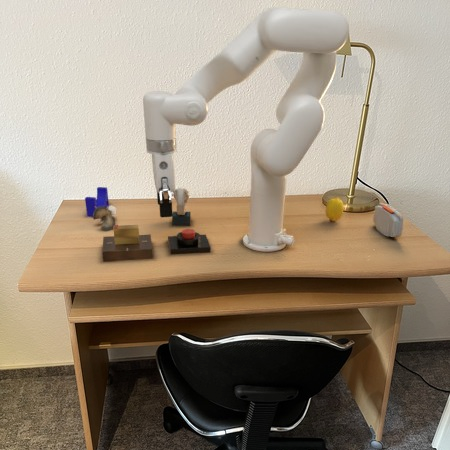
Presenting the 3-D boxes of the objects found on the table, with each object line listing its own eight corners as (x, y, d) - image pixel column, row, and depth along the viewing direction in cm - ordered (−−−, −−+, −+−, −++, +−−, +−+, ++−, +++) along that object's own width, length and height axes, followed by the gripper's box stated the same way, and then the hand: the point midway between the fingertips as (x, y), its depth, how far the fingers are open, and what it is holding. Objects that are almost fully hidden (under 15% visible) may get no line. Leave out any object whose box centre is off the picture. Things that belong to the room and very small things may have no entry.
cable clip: (100, 217, 158) (98, 199, 155) (87, 216, 158) (84, 198, 155) (113, 204, 168) (111, 187, 165) (100, 204, 168) (98, 186, 165)
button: (194, 234, 139) (194, 228, 138) (195, 239, 136) (195, 233, 135) (181, 234, 139) (181, 228, 138) (182, 239, 135) (182, 233, 135)
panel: (151, 243, 140) (150, 233, 139) (152, 259, 131) (152, 248, 130) (104, 246, 138) (103, 235, 137) (103, 262, 129) (101, 251, 128)
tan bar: (139, 240, 135) (138, 223, 132) (139, 243, 133) (138, 227, 130) (115, 241, 134) (113, 224, 131) (114, 244, 132) (113, 228, 129)
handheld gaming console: (400, 241, 145) (406, 216, 141) (391, 242, 145) (397, 216, 141) (378, 223, 158) (382, 199, 154) (369, 224, 157) (373, 200, 153)
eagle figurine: (88, 217, 154) (87, 222, 146) (99, 197, 153) (98, 201, 144) (110, 229, 157) (110, 235, 148) (121, 209, 155) (121, 214, 147)
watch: (190, 218, 158) (190, 185, 153) (190, 228, 151) (189, 193, 146) (173, 218, 158) (172, 185, 152) (171, 228, 151) (170, 193, 145)
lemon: (336, 217, 162) (339, 193, 158) (344, 223, 157) (348, 199, 153) (321, 219, 160) (324, 195, 156) (329, 225, 156) (332, 200, 152)
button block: (205, 239, 144) (205, 228, 142) (210, 252, 136) (210, 240, 134) (168, 241, 142) (167, 230, 140) (170, 254, 134) (170, 243, 132)
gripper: (179, 153, 116) (182, 221, 125) (173, 137, 131) (175, 199, 140) (147, 154, 115) (152, 223, 124) (144, 138, 130) (149, 200, 138)
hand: (164, 210), depth 132 cm, fingers open, 9 cm apart
